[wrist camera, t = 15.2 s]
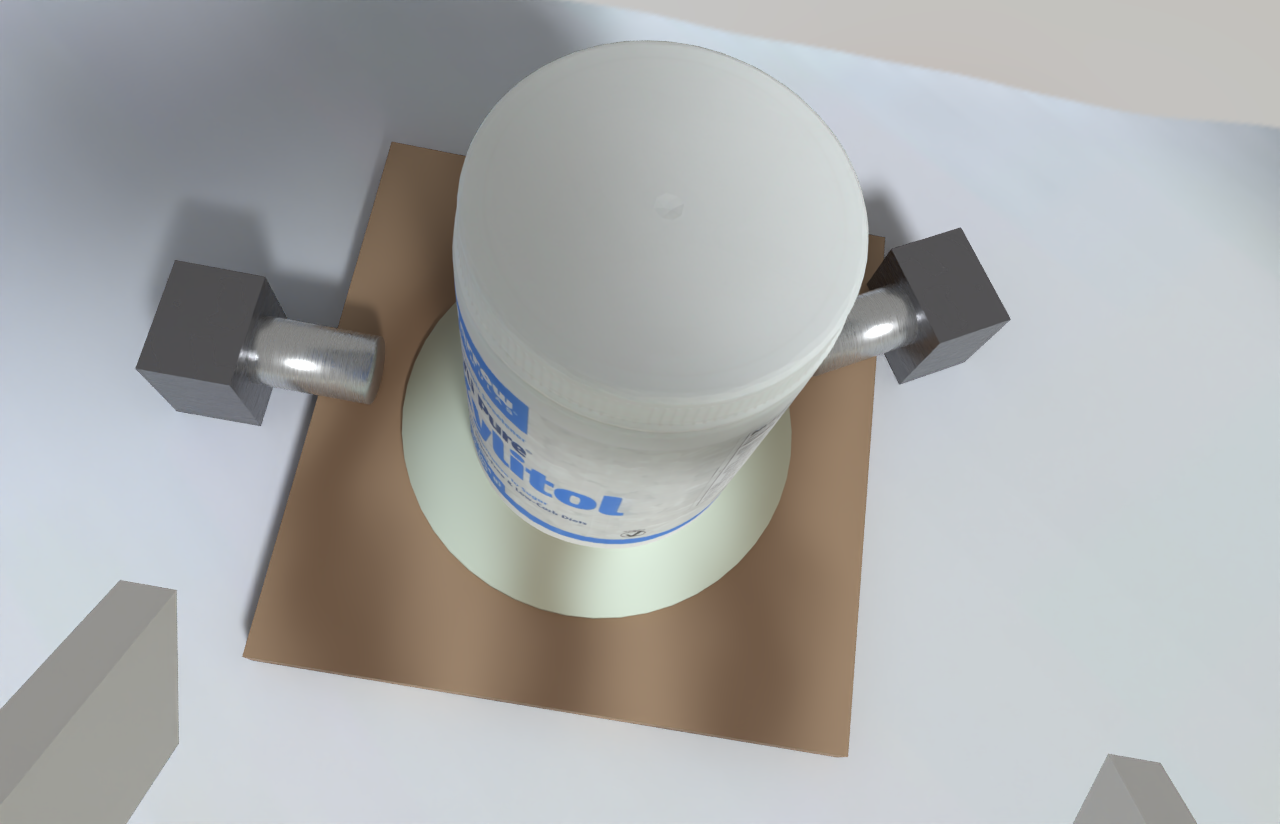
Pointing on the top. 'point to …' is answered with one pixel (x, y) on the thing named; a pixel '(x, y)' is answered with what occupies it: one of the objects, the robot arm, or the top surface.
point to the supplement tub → (645, 282)
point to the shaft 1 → (247, 348)
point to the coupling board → (547, 566)
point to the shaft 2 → (921, 310)
